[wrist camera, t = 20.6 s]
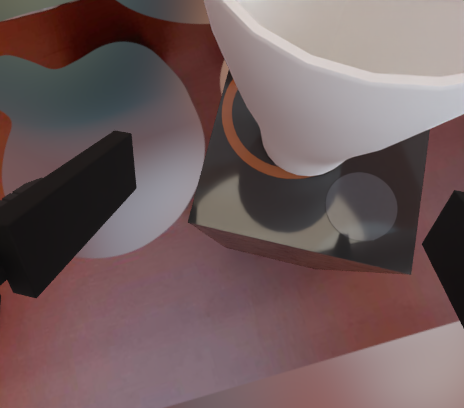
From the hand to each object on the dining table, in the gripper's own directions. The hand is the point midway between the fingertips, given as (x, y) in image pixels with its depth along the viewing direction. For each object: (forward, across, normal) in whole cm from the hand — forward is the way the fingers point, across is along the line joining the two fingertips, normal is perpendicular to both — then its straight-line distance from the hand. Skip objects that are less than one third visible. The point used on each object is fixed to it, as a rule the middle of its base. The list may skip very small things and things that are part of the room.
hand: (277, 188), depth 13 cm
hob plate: (+9, +2, -1) cm, 9 cm away
